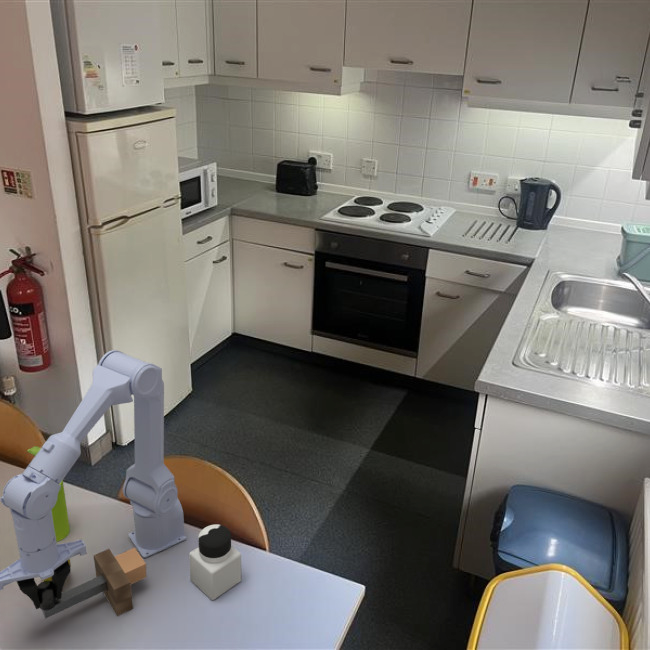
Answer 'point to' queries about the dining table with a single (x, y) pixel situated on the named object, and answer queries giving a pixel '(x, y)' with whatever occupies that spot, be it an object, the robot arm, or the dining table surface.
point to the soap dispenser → (57, 508)
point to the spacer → (132, 565)
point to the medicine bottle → (215, 562)
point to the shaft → (68, 595)
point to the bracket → (114, 582)
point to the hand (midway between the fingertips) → (47, 600)
